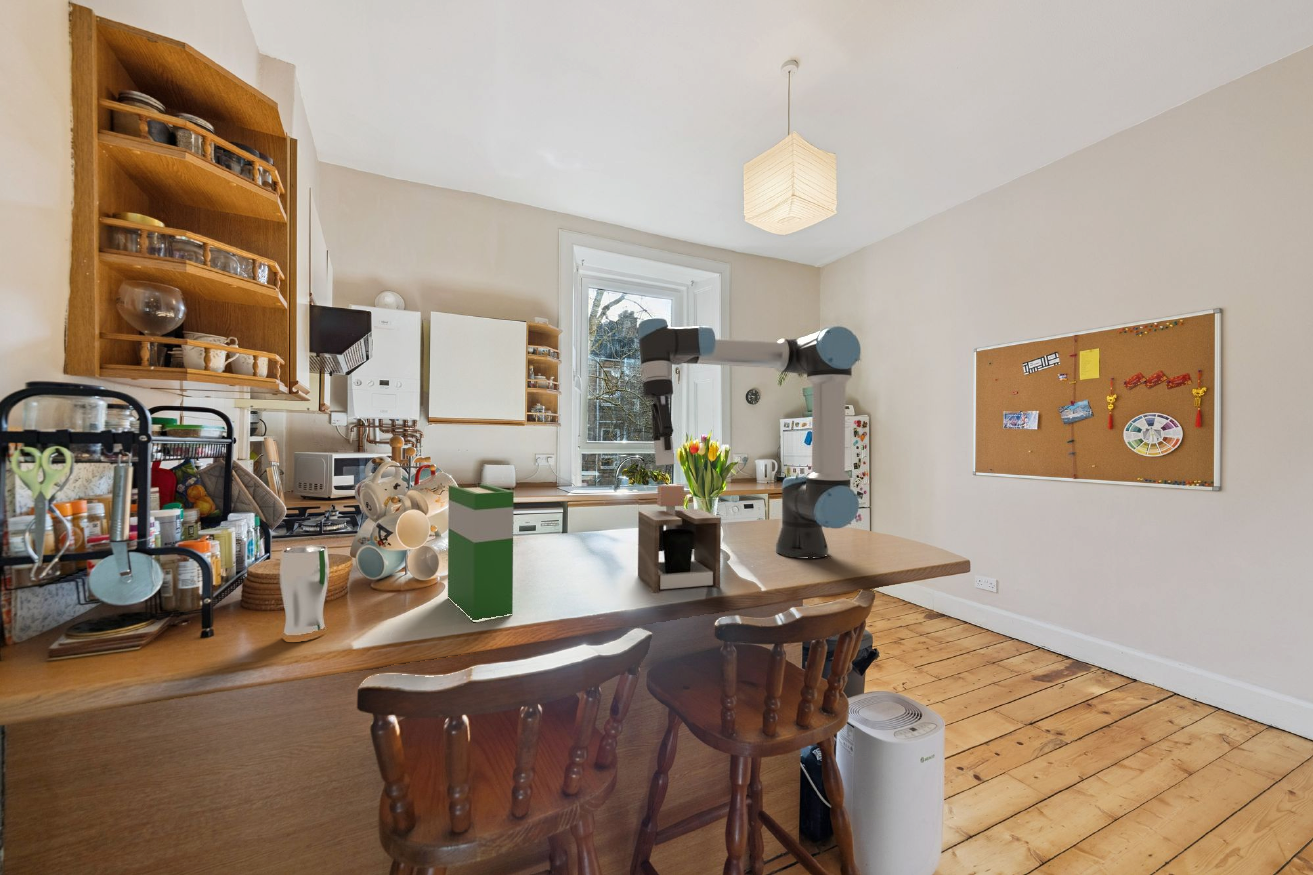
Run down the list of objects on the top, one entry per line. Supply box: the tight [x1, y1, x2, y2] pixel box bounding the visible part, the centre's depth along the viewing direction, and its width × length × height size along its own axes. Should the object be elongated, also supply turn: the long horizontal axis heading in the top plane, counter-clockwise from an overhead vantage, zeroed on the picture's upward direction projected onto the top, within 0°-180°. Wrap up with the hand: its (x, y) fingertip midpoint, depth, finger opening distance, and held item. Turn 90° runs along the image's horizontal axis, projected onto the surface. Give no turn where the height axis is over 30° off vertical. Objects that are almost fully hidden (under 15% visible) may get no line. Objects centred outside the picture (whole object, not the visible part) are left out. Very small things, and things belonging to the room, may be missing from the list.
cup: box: [662, 529, 694, 574], centre depth 123 cm, size 8×8×12 cm
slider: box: [656, 484, 713, 590], centre depth 123 cm, size 13×14×22 cm
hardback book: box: [447, 483, 515, 620], centre depth 103 cm, size 18×7×24 cm, turn 37°
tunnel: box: [637, 508, 722, 594], centre depth 123 cm, size 16×14×16 cm
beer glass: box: [279, 544, 330, 635], centre depth 88 cm, size 7×7×15 cm
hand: (664, 465), depth 127 cm, fingers open, 13 cm apart
